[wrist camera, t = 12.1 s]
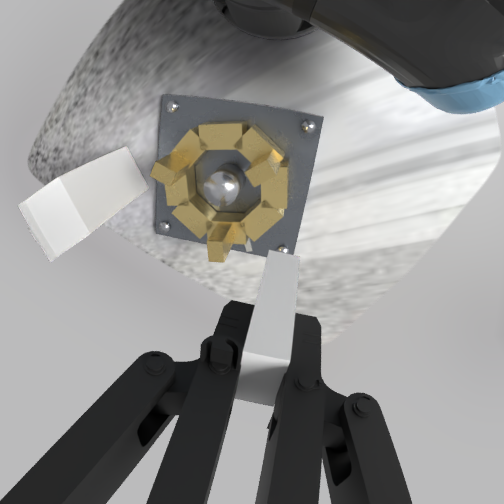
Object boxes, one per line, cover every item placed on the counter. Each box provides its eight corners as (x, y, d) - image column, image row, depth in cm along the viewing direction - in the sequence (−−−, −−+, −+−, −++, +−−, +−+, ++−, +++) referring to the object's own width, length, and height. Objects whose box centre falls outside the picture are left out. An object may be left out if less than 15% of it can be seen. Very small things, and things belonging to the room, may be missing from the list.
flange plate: (166, 94, 37) (146, 96, 32) (323, 116, 35) (325, 120, 31) (158, 230, 47) (142, 247, 42) (291, 258, 45) (289, 280, 41)
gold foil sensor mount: (180, 231, 45) (157, 259, 38) (168, 124, 38) (139, 134, 31) (287, 236, 42) (282, 267, 36) (288, 121, 35) (284, 129, 28)
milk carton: (127, 145, 41) (33, 189, 25) (150, 188, 44) (68, 252, 27) (94, 167, 43) (4, 217, 27) (116, 206, 46) (36, 271, 30)
